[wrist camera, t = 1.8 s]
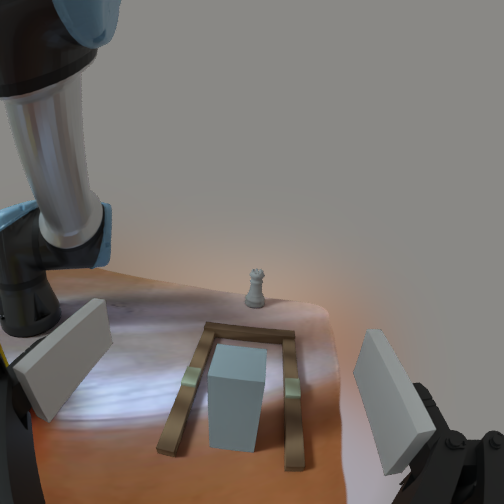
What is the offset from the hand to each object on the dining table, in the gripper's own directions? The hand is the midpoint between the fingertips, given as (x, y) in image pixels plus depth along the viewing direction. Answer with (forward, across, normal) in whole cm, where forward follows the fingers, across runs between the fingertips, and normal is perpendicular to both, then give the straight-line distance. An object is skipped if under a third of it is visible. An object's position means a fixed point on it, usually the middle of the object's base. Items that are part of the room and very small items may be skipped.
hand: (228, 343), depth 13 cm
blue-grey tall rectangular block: (+10, 0, -21) cm, 23 cm away
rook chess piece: (+46, 0, -21) cm, 50 cm away
